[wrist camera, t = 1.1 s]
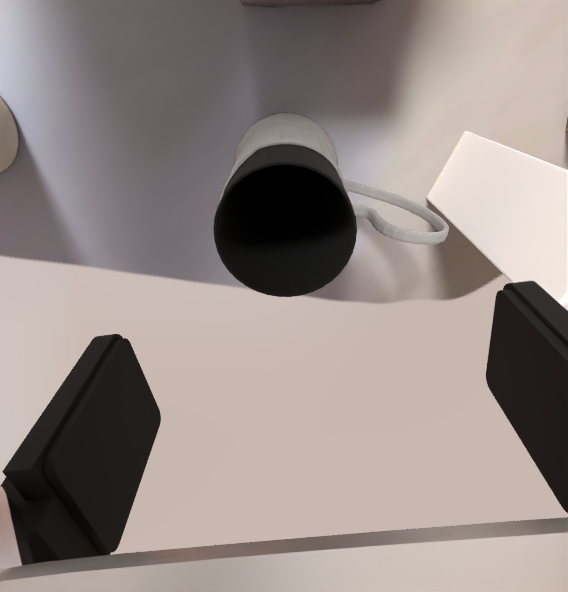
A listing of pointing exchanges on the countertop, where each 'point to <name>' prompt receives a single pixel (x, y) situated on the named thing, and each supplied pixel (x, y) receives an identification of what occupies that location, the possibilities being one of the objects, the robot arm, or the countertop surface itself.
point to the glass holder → (297, 210)
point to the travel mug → (7, 137)
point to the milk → (509, 210)
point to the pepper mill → (304, 2)
